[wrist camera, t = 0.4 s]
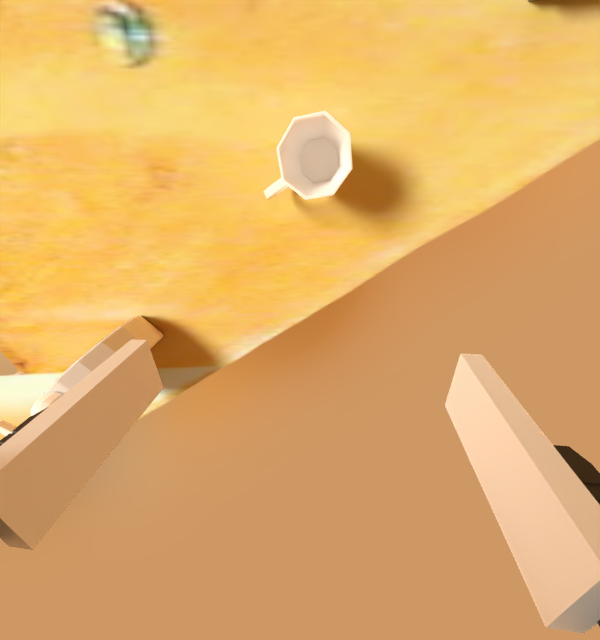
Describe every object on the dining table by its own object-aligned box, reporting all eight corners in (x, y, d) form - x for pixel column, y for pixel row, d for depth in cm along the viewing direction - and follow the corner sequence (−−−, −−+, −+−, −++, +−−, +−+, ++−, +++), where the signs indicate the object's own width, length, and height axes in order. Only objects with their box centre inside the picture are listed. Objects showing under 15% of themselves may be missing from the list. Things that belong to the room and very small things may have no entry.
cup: (361, 172, 31) (368, 172, 24) (289, 219, 35) (276, 231, 28) (332, 108, 29) (330, 88, 22) (257, 166, 32) (235, 164, 25)
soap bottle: (145, 304, 44) (18, 392, 26) (172, 327, 45) (68, 424, 28) (101, 354, 50) (-26, 452, 33) (125, 373, 52) (17, 475, 34)
